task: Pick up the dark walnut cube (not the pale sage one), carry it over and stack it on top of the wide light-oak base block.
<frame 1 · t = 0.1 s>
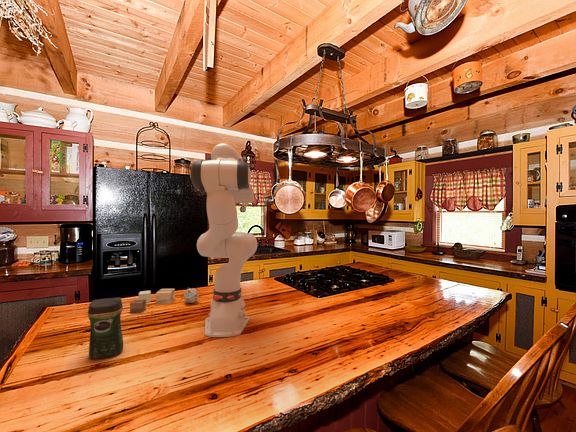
hand: (235, 211, 147), 48 cm above the kitchen island, fingers open, 8 cm apart
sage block: (144, 301, 142), on the kitchen island
oak base block: (165, 302, 142), on the kitchen island
walnut block: (138, 311, 128), on the kitchen island
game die: (191, 303, 140), on the kitchen island
coffee jar: (106, 353, 91), on the kitchen island
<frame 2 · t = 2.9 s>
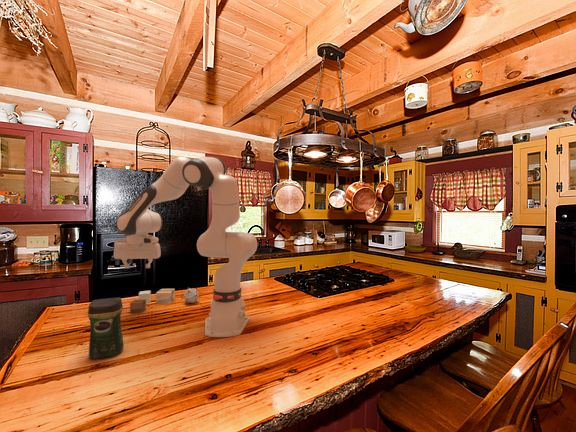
hand: (137, 268, 128), 21 cm above the kitchen island, fingers open, 8 cm apart
nothing on the kitchen island moved.
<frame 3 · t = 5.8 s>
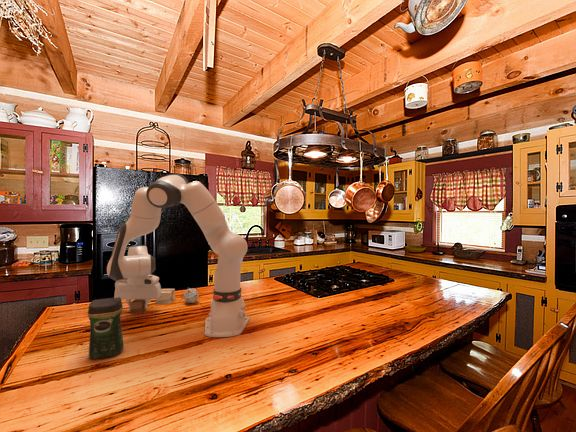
hand: (138, 308, 128), 2 cm above the kitchen island, fingers closed on walnut block, 5 cm apart
walnut block: (138, 311, 128), on the kitchen island, touching gripper
everything else where it was.
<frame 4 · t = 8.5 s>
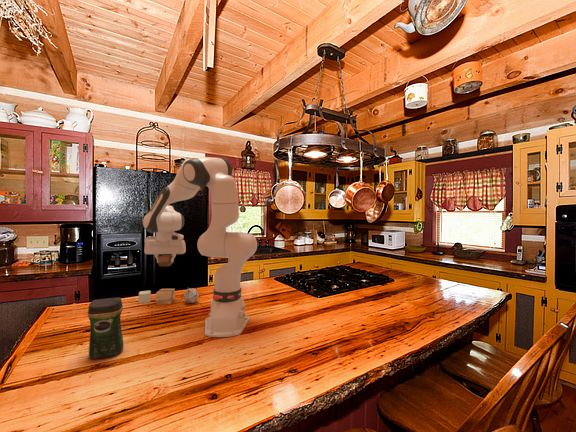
hand: (165, 262, 141), 21 cm above the kitchen island, fingers closed on walnut block, 5 cm apart
walnut block: (165, 265, 141), point 19 cm above the kitchen island, touching gripper
everything else where it was.
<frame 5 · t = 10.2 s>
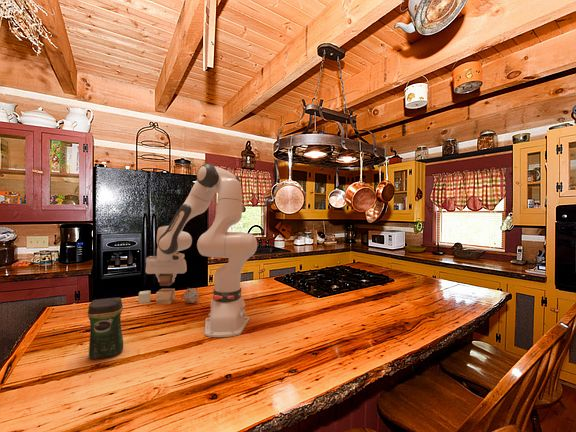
hand: (166, 281, 142), 10 cm above the kitchen island, fingers closed on walnut block, 5 cm apart
walnut block: (166, 284, 142), point 9 cm above the kitchen island, touching gripper
everything else where it was.
when the fingers open (9 cm above the kitchen island, at t = 11.5 s): walnut block drops 1 cm, resting on oak base block.
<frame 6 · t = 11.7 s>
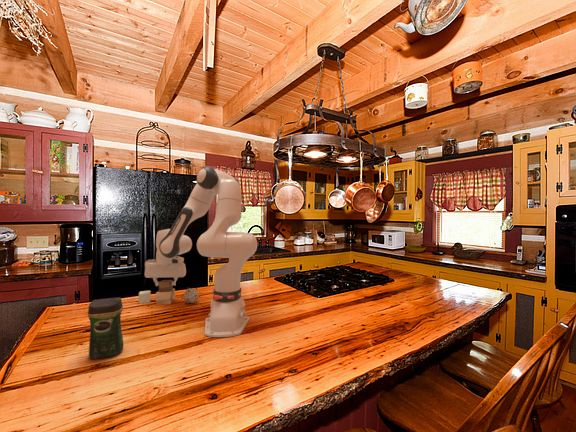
hand: (165, 285, 142), 9 cm above the kitchen island, fingers open, 7 cm apart
oak base block: (165, 302, 142), on the kitchen island, touching walnut block
walnut block: (165, 290, 142), point 6 cm above the kitchen island, touching oak base block
everything else where it was.
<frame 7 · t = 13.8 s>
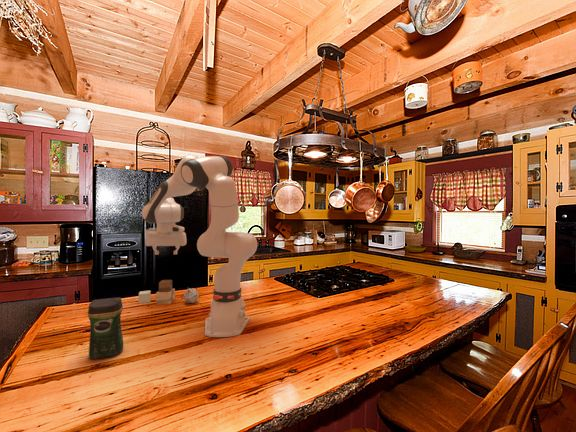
hand: (166, 254, 141), 25 cm above the kitchen island, fingers open, 8 cm apart
nothing on the kitchen island moved.
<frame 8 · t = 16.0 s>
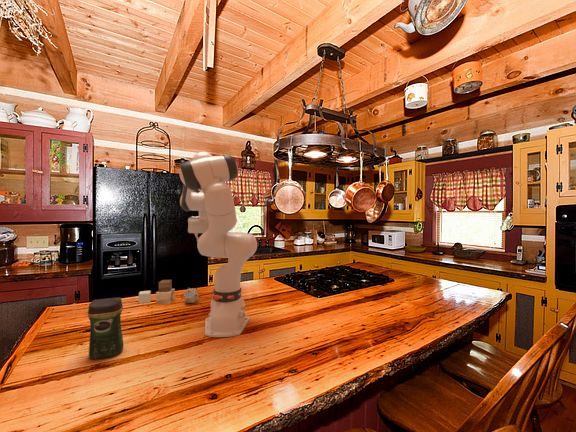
hand: (207, 241, 150), 31 cm above the kitchen island, fingers open, 8 cm apart
nothing on the kitchen island moved.
at the end: walnut block inside the target area on the oak base block (0.2 cm from its centre), point 6.0 cm above the oak base block's base; walnut block tilted 0°; the gripper is holding nothing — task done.
